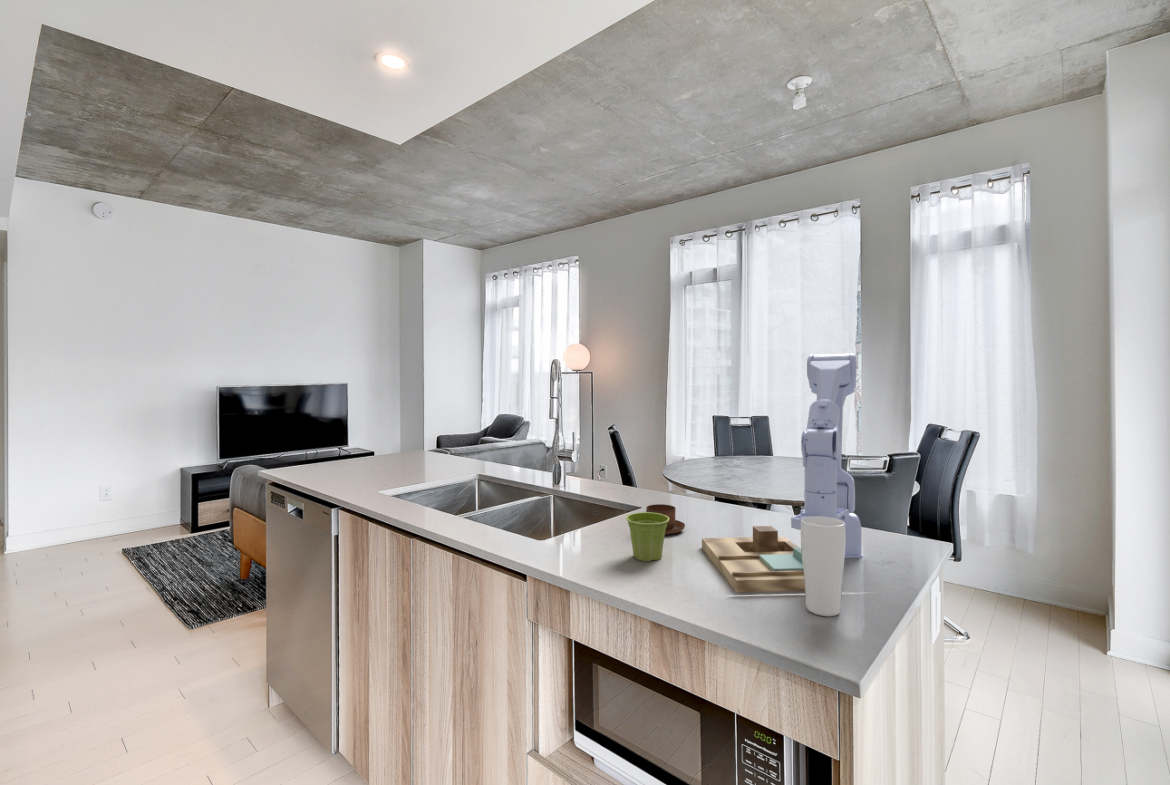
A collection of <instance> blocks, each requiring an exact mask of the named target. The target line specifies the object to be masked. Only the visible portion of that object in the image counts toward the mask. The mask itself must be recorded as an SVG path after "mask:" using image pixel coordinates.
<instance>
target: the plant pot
mask: <svg viewBox="0 0 1170 785" xmlns="http://www.w3.org/2000/svg"><path fill="white" fill-rule="evenodd" d="M625 519H626V521H627V525H628V527H629V533H630V540H631V546H632V556H633V557H635V559H636V560H638V561H642V562H643V561H644V562H650V561H654V560H655V561H659V560H660V559H661V558H663V557H662V556H663V549H664V540H665V536H666V535H665V529H666V527H667V522H669V517H668V516H666V515H663V514H659V513H651V512H646V511H645V512H643V511H642V512H634V513H629V514H628V515H626V517H625Z"/></svg>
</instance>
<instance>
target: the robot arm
mask: <svg viewBox="0 0 1170 785" xmlns="http://www.w3.org/2000/svg"><path fill="white" fill-rule="evenodd" d="M857 367H858V366H857V355H855V353H854V352H851V353H835V354H831V353H829V354H813V353H811V354H809V355H808V356H807V359H806V375H807V376H806V377H807V380H808V384H809V388H810V392H811V393H813V394H815V395H816V401H814V402H812V403H811V404H810V406H809V410H808V418H807V423H806V424H807V425H806V430H803V431H802V434H801V437H800V438H801V439H800V446H801V447H800V448H801V449H800V450H801V454H802V466H803V467H804V491H803V492H804V494H803V495H804V496H803V497H804V498H803V500H804V508H803V509H800V513H799V514H798V515H795V516H792V517H791V518H790V527H791V529H795V530H799V531H801V520H802V519H803V518H805V517H810V516H822V517H830V518H835V519H839V520H841V521H843V522H844V523H845V537H846V542H845V558H844V559H861V558H862V559H863V558H864V555H863V554H862V524H861V520H860V518H859V516H858V515H857V514H856V513H854V512H855V510H856V487H855V485H856V484H855V480H854V477H853V476H852V475H851V474H850V473H848V472H847V471H846V470H844V469H843V468H842V451H843V448H842V446H843V423H844V422H843V419H844V418H843V417H844V405H845V400H846V399H847V398H846V397H847V396H849V395H853V393H855V389H856V387H857V384H856V383H857V369H858V368H857Z"/></svg>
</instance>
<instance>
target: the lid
mask: <svg viewBox="0 0 1170 785" xmlns="http://www.w3.org/2000/svg"><path fill="white" fill-rule="evenodd" d="M759 559H760V560H761V561H762V562H763V563H764V564H765V565H766V566H768V567H769V568H770V569H771V570H772V571H801V570H803V561H802V550H801V547H799V546H798V547H794V548H793V554H777V555H759Z"/></svg>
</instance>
